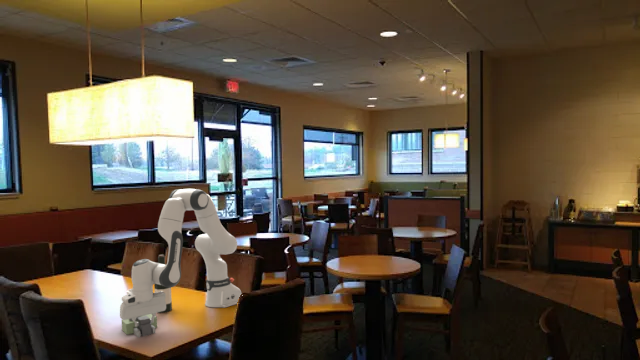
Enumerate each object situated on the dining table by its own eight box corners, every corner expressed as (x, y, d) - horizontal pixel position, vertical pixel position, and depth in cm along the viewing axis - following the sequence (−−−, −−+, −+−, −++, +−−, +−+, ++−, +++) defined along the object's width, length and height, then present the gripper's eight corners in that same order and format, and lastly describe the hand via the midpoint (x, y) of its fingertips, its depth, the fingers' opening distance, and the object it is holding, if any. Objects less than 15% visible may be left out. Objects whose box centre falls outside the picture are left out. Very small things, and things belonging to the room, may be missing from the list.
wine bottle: (175, 308, 243) (172, 253, 241) (165, 313, 235) (162, 257, 234) (162, 307, 245) (160, 253, 244) (152, 312, 238) (149, 256, 236)
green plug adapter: (151, 322, 222) (151, 308, 221) (162, 331, 210) (161, 316, 209) (122, 330, 213) (121, 315, 213) (130, 339, 201) (130, 323, 201)
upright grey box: (146, 330, 212) (146, 315, 212) (151, 334, 206) (150, 319, 206) (138, 332, 209) (137, 317, 209) (142, 336, 204) (142, 321, 204)
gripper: (163, 289, 216) (164, 317, 217) (118, 298, 204) (119, 328, 204) (167, 291, 211) (168, 320, 212) (121, 301, 199) (123, 331, 199)
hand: (144, 324), depth 208 cm, fingers open, 5 cm apart
